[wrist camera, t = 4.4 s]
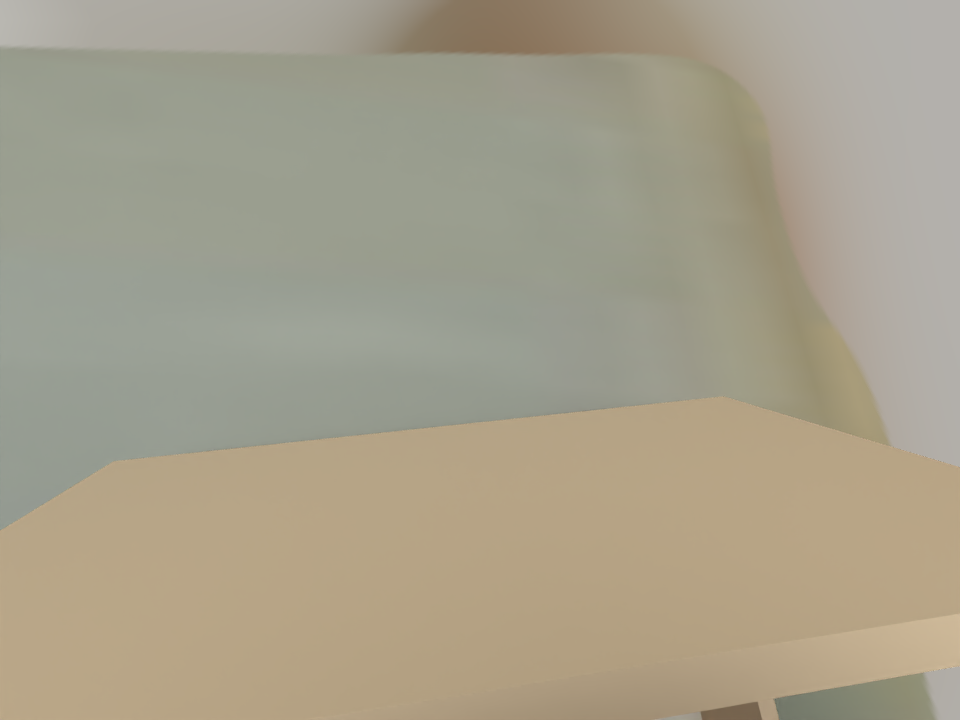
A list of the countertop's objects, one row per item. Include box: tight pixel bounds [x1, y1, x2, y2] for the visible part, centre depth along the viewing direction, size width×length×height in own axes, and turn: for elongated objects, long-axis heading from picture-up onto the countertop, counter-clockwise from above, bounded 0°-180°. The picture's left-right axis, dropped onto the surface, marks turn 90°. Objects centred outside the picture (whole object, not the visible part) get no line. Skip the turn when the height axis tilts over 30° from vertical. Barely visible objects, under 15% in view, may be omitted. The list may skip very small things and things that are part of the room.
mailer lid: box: [0, 396, 960, 720], centre depth 10 cm, size 10×15×1 cm
